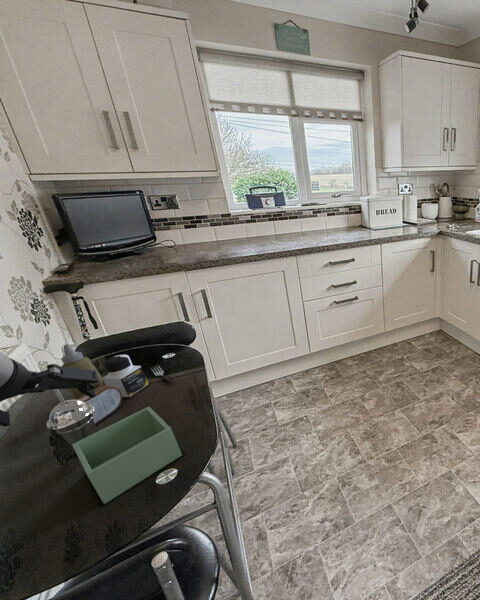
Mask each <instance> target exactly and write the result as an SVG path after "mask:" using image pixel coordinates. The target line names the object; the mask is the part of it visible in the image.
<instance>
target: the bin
mask: <svg viewBox="0 0 480 600" xmlns="http://www.w3.org/2000/svg"><path fill="white" fill-rule="evenodd" d="M72 446H73V448H74V450H75V451H74V450H73V451H74V452H75V454H76V456H77V458H78V460H79V462H80V464H81V467H82V468H83V470H84V472H85V474H86V476H87V478H88V480H89V481H90V483H91V485H92V487H93V488H94V490H95V491H96V494H97V495H98V497H99V498H100V500H101V502H102V503H103V505H105V504H107V503H109V502H110V501H112V500H113V499H115V498H117V497H119V496H120V495H121V494H123V493H125V492H126V491H128V490H129V489H131V488H133V487H134V486H135V485H137V484H139V483H141V482H142V481H143V480H146V479H147V478H148V477H150V476H151V475H153V474H155V473H157V472H158V471H160V470H161V469H163V468H164V467H166V466H167V465H169V464H170V463H172V462H173V461H175V460H177V459H179V458H180V457H181V456H183V453H182V451H181V449H180V446H179V444H178V441H177V439H176V436H175V434H174V432H173V430H172V427H171V426H170V425H168V424H167V423H166V421H164V420H163V419H162V417H160V416H159V414H157V413H156V411H154V410H153V409H152V407H150V406H147V407H145V408H143V409H141V410H139V411H137V412H135V413H132V414H130V415H129V416H127V417H125V418H123V419H121V420H118V421H116V422H115V423H113V424H110V425H108V426H106V427H104V428H103V429H101V430H97V432H96V433H94V434H92V435H90V436H88V437H86V438H84V439H82V440H80V441H78V442H76V443H74V444H72Z"/></svg>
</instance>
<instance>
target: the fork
mask: <svg viewBox="0 0 480 600" xmlns="http://www.w3.org/2000/svg"><path fill="white" fill-rule="evenodd" d="M150 369H151V371H152V373H153V374H154V376H155V377H160V376H161V377H162V379H163V380H165V381H166V382H168V383H170V384H174V382H173V381H172V380H171V378H170V377H169V376H167V375H165V371H164V370H163V369H162V367H160V366H158V367H157V366H155V367H154V366H152V367H150Z"/></svg>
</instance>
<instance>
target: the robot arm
mask: <svg viewBox="0 0 480 600" xmlns="http://www.w3.org/2000/svg"><path fill="white" fill-rule="evenodd" d="M61 366H62V365H58V364H56V363H51V364H50V363H49V364H47V365H46V369H45V370H41V371H36V370H35V371H33V370H29V369H28V368H27V367H26V366H25V365H23V364H22V363H20V362H19V361H16V360H15V359H13V358H11V357H9V356H8V355H6V354H4V353H2V352H0V403H1V402H3V401H6V400H9V399H12V398H14V397H17V396H24V395H26V394H36V393H37V394H38V393H39V394H40V393H43V392H46V391H47V390H49V391H50V390H54V389H59V390H67V389H68V390H69V389H70V388H78V391H80V392H82V393H83V394H85V395H87V396H89V397H90V398H94V397H96V395H95V390H94V388H95V387H94V383H97V382H98V377H97V373H96V371H95V370H86V369H77V368H68V367H61ZM0 426H1V427H9V426H11V418H10V412H8V411H5V410H2V409H0Z"/></svg>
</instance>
